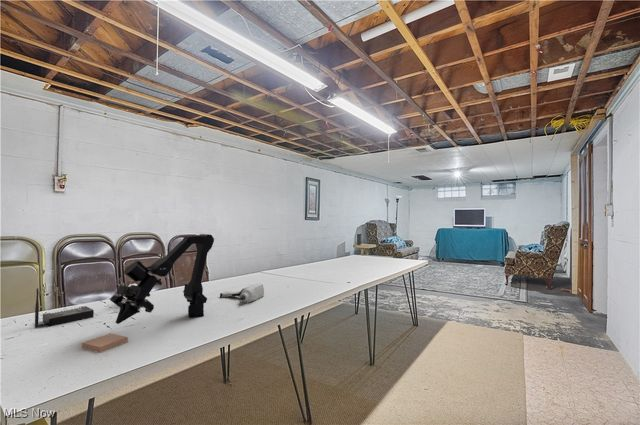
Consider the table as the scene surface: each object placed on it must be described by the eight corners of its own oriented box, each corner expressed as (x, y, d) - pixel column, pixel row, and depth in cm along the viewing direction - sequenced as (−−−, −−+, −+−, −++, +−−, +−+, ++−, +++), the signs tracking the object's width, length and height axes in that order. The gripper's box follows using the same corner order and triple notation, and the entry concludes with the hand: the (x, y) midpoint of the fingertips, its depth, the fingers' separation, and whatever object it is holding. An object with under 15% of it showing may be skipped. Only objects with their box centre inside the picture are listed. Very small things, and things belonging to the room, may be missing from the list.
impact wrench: (205, 298, 168) (246, 290, 163) (226, 289, 190) (263, 281, 185) (208, 313, 167) (249, 305, 162) (229, 302, 189) (266, 295, 184)
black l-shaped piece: (84, 313, 150) (85, 278, 150) (94, 319, 141) (95, 282, 142) (29, 324, 133) (30, 285, 134) (37, 331, 125) (38, 290, 126)
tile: (110, 333, 118) (81, 342, 109) (127, 336, 114) (100, 347, 105) (109, 339, 118) (81, 349, 109) (127, 343, 114) (99, 354, 105)
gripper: (115, 275, 124) (85, 309, 114) (147, 278, 117) (119, 315, 107) (133, 290, 131) (106, 324, 121) (164, 294, 124) (139, 330, 114)
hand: (116, 323), depth 115 cm, fingers closed
